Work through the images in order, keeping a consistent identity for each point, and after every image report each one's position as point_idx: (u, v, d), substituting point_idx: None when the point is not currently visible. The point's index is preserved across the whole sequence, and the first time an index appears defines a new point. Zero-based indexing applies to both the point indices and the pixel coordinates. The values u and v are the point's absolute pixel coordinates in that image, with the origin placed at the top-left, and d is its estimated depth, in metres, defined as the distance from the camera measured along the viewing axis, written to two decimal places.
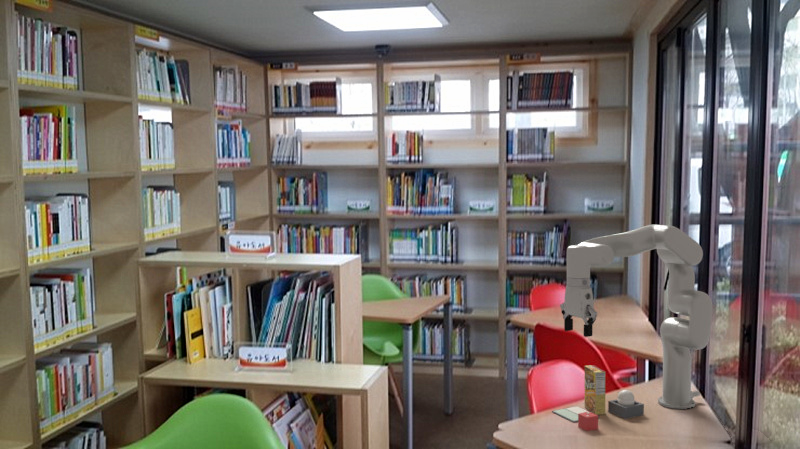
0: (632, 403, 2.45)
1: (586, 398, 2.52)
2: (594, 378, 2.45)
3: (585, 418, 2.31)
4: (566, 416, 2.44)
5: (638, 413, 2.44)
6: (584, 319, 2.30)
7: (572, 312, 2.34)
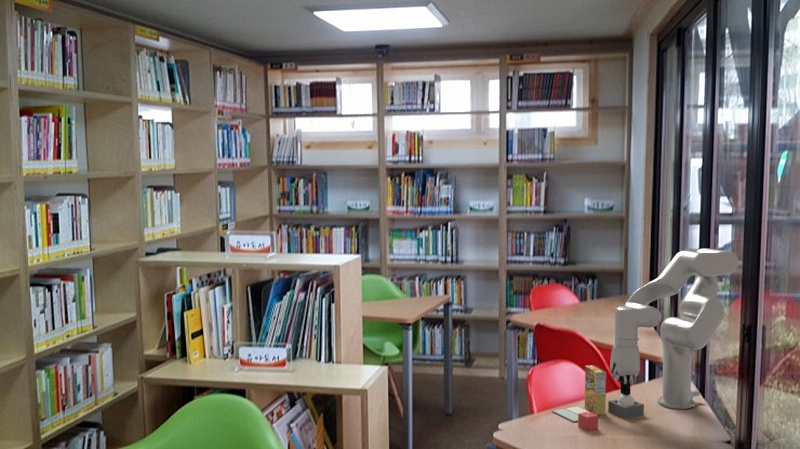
0: None
1: (586, 398, 2.52)
2: (595, 378, 2.45)
3: (585, 418, 2.31)
4: (566, 416, 2.44)
5: (638, 413, 2.44)
6: (631, 377, 2.46)
7: (629, 371, 2.44)
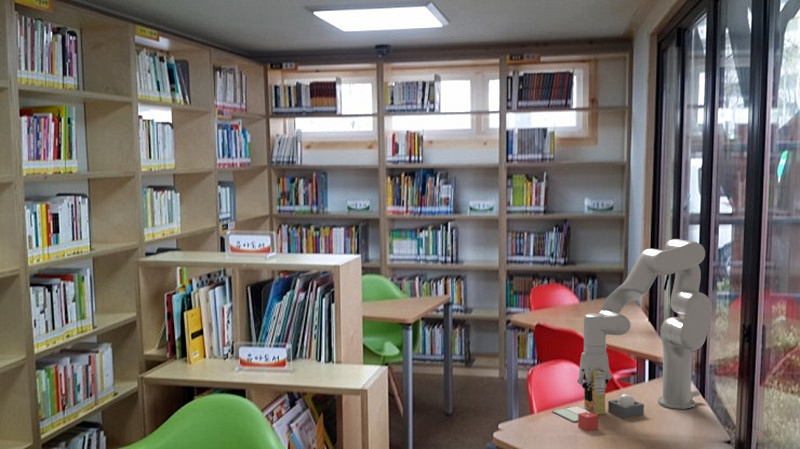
0: None
1: None
2: (594, 378, 2.45)
3: (585, 418, 2.31)
4: (566, 416, 2.44)
5: (638, 413, 2.44)
6: None
7: None
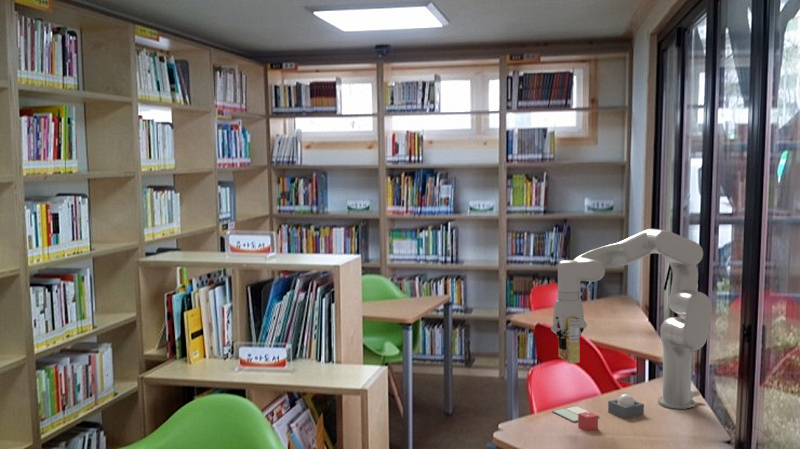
0: None
1: None
2: (568, 325, 2.39)
3: (585, 418, 2.31)
4: (566, 416, 2.44)
5: (638, 413, 2.44)
6: None
7: None
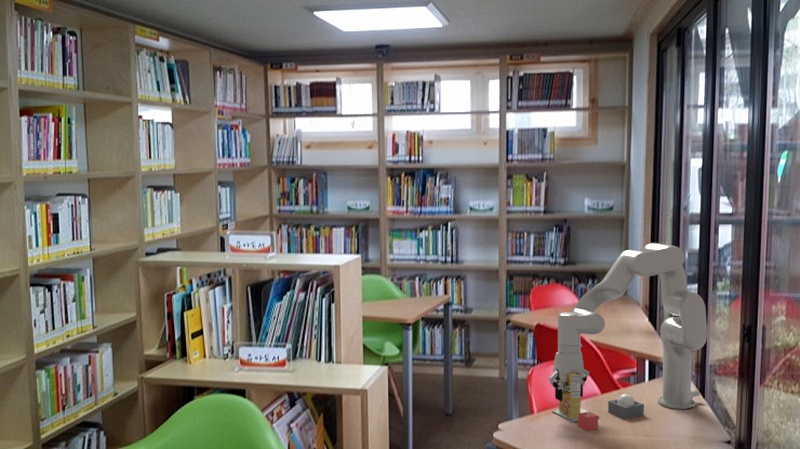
0: None
1: (561, 401, 2.47)
2: (570, 381, 2.41)
3: (585, 418, 2.31)
4: (566, 416, 2.44)
5: (638, 413, 2.44)
6: (581, 380, 2.45)
7: None
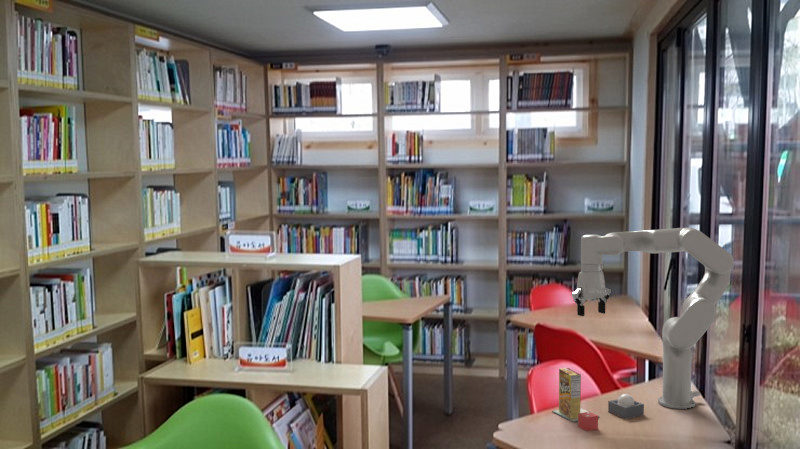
0: None
1: (560, 401, 2.47)
2: (570, 381, 2.41)
3: (585, 418, 2.31)
4: (566, 416, 2.44)
5: (638, 413, 2.44)
6: (603, 298, 2.60)
7: (594, 295, 2.57)
